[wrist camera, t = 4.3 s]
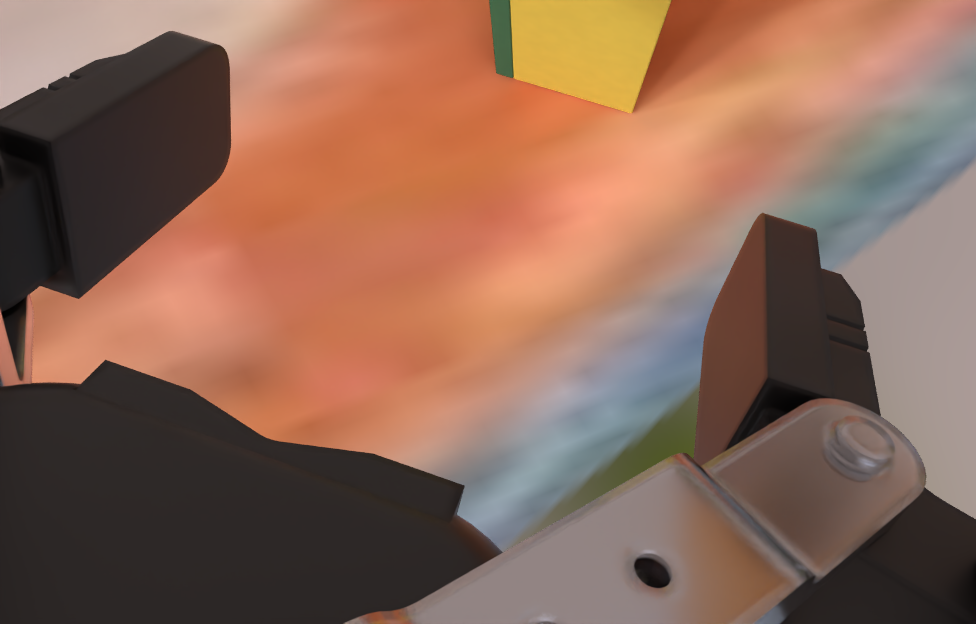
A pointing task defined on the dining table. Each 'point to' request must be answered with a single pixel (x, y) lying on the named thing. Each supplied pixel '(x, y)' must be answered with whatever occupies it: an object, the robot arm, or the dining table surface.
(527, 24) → the sponge
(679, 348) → the dining table surface
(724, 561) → the robot arm
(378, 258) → the dining table surface
